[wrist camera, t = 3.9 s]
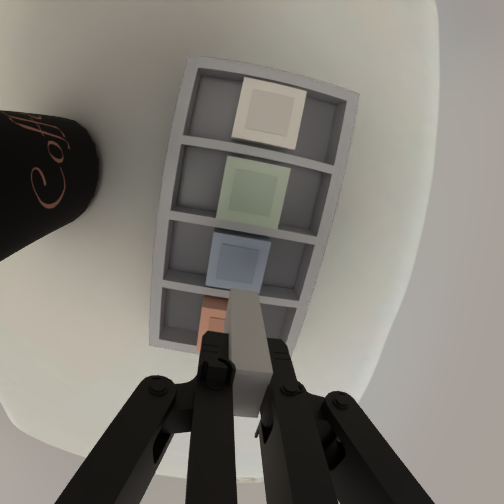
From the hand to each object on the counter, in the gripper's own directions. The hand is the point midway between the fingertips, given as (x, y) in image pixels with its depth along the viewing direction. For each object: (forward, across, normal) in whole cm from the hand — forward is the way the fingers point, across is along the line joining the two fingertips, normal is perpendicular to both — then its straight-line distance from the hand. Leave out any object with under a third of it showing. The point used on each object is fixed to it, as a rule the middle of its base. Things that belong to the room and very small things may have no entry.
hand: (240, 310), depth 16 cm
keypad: (+12, 0, +3) cm, 12 cm away
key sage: (+9, 0, +6) cm, 11 cm away
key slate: (+10, 0, 0) cm, 10 cm away
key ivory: (+9, 0, +12) cm, 15 cm away
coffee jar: (+12, -19, +5) cm, 23 cm away
